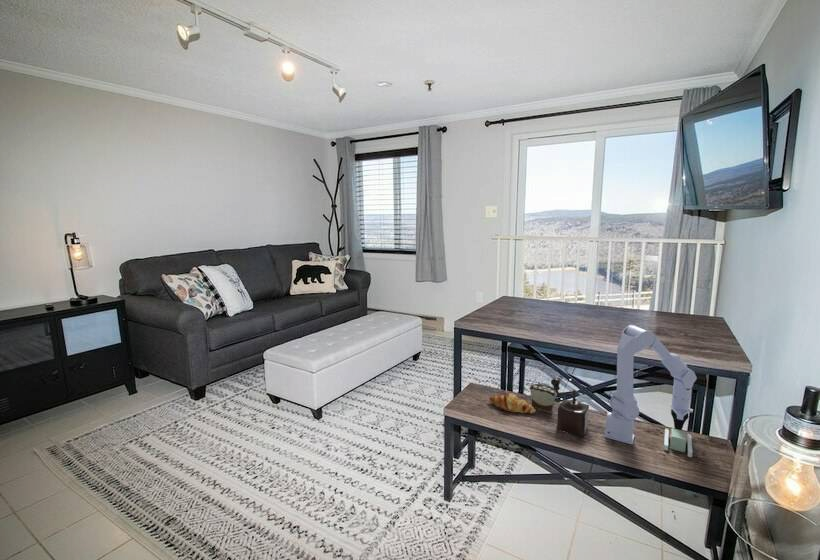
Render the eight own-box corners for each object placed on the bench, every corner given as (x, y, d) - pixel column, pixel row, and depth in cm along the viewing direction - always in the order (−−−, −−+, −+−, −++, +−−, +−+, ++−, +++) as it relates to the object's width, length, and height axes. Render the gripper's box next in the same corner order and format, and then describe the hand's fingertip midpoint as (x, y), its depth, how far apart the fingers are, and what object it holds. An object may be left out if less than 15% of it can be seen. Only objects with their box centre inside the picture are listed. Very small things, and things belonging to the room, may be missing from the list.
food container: (560, 409, 174) (561, 388, 172) (555, 414, 169) (556, 392, 168) (534, 401, 182) (535, 381, 181) (528, 405, 177) (529, 385, 176)
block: (670, 448, 143) (671, 436, 143) (670, 440, 149) (671, 428, 148) (684, 452, 141) (686, 439, 140) (684, 443, 146) (685, 431, 146)
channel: (663, 449, 142) (664, 444, 142) (664, 433, 154) (665, 428, 153) (691, 457, 138) (692, 452, 137) (690, 439, 149) (691, 434, 149)
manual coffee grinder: (588, 425, 160) (591, 384, 157) (583, 437, 151) (586, 393, 148) (550, 415, 168) (552, 376, 166) (543, 426, 159) (545, 384, 157)
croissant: (536, 419, 172) (539, 401, 174) (532, 417, 164) (535, 398, 166) (490, 406, 183) (494, 389, 185) (484, 404, 175) (488, 387, 177)
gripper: (694, 406, 142) (691, 440, 144) (693, 392, 154) (689, 424, 156) (671, 401, 146) (668, 435, 148) (672, 388, 158) (669, 419, 160)
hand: (678, 429), depth 152 cm, fingers closed
